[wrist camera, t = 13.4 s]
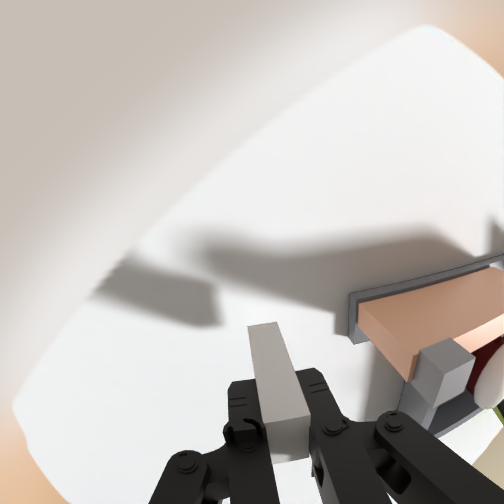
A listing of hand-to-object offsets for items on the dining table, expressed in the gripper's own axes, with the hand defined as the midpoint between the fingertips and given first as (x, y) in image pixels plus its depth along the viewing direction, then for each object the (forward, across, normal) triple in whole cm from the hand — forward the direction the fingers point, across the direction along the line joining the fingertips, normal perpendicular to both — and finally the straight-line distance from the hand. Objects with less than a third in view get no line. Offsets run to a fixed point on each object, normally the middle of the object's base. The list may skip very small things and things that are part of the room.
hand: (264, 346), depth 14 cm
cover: (+2, +13, 0) cm, 13 cm away
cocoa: (+2, +20, -8) cm, 22 cm away
